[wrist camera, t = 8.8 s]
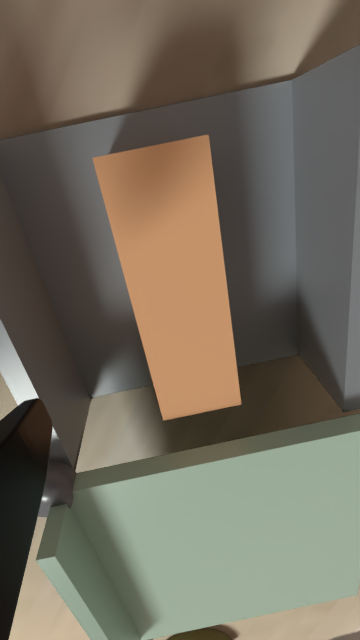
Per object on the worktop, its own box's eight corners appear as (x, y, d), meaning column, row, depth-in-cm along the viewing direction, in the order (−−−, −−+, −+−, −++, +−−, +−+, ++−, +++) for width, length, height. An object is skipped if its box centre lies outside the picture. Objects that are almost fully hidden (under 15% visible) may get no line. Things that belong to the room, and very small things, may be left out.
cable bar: (159, 364, 21) (163, 420, 17) (107, 157, 16) (91, 157, 11) (220, 351, 21) (241, 404, 17) (190, 140, 16) (208, 134, 11)
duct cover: (19, 467, 16) (-12, 543, 13) (368, 393, 16) (422, 451, 13) (115, 628, 24) (111, 700, 21) (349, 578, 24) (380, 642, 21)
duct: (65, 412, 22) (42, 490, 17) (-52, 151, 15) (-155, 149, 10) (311, 361, 22) (361, 422, 17) (310, 76, 15) (396, 35, 10)
